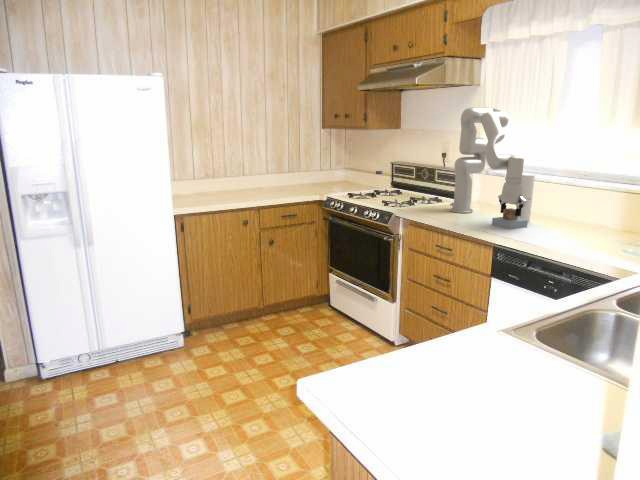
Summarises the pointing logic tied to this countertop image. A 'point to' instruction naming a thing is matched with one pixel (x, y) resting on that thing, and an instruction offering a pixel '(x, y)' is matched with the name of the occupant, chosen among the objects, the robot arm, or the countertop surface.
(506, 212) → the walnut cube
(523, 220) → the grey base block
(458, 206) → the robot arm
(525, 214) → the cylindrical container
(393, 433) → the countertop surface
